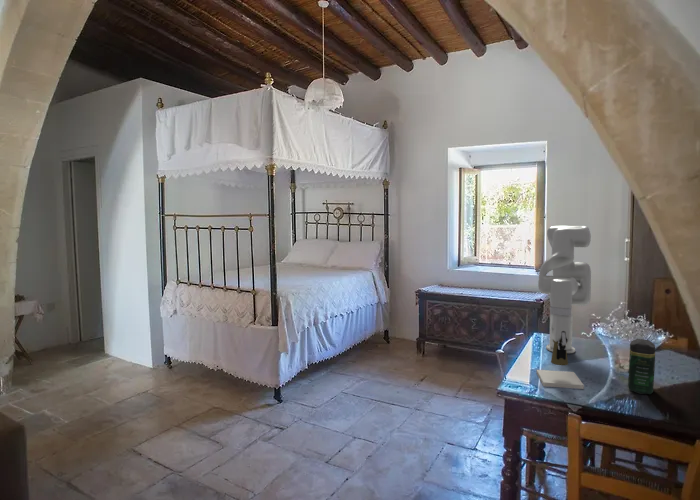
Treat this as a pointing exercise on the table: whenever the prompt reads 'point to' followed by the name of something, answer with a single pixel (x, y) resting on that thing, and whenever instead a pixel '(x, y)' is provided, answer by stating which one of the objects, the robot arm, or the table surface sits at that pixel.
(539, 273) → the robot arm
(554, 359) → the cork
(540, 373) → the tile
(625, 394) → the table surface
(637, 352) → the coffee jar
